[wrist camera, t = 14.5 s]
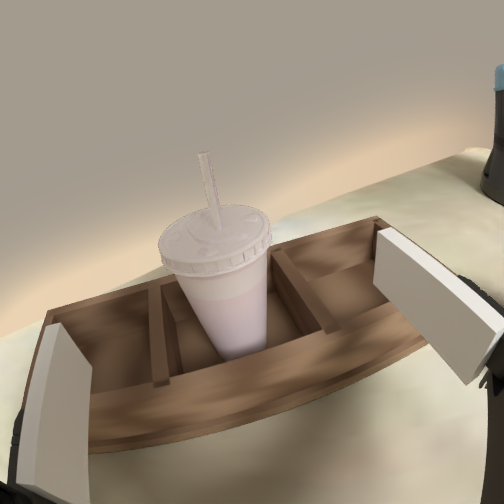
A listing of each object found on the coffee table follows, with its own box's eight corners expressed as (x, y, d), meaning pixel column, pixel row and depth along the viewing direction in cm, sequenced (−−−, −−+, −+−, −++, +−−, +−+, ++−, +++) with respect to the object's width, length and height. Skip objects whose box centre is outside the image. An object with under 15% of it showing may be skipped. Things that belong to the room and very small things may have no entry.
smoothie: (252, 394, 18) (194, 178, 11) (182, 355, 22) (110, 175, 14) (300, 329, 22) (283, 136, 15) (233, 304, 26) (195, 138, 18)
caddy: (374, 255, 30) (377, 212, 27) (452, 328, 20) (469, 279, 17) (70, 346, 25) (44, 308, 22) (57, 455, 15) (13, 422, 12)
